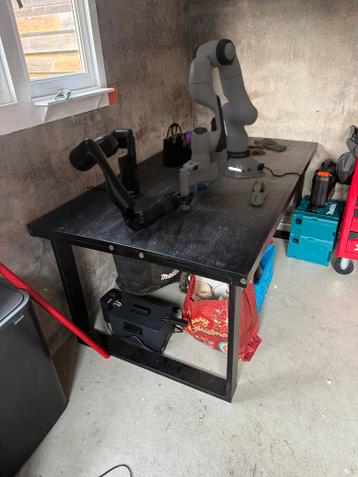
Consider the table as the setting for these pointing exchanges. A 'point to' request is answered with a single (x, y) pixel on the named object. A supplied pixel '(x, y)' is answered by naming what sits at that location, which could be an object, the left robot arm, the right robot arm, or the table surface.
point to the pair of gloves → (267, 144)
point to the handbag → (175, 147)
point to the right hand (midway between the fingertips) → (201, 189)
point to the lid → (201, 187)
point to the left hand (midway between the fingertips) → (188, 193)
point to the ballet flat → (258, 193)
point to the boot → (213, 125)
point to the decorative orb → (188, 140)
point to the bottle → (184, 185)
